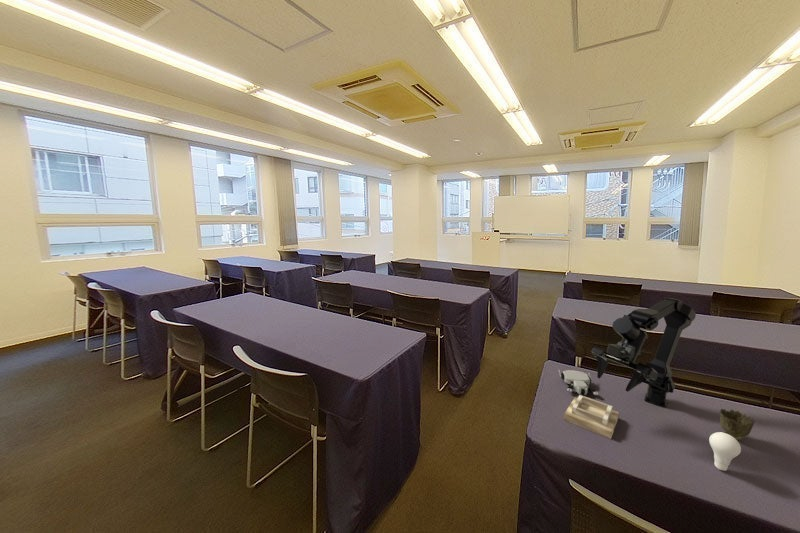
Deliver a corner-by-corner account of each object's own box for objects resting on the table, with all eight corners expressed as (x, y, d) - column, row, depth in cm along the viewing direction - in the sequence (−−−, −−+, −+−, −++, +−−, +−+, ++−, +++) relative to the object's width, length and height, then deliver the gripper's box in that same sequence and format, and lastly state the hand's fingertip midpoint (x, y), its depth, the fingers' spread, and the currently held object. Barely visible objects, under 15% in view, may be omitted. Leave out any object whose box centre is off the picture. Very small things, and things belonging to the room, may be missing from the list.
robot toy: (599, 401, 120) (587, 379, 134) (601, 391, 119) (588, 370, 133) (565, 397, 123) (557, 376, 138) (566, 387, 122) (558, 367, 137)
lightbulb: (699, 461, 89) (704, 428, 88) (717, 460, 90) (723, 426, 88) (722, 479, 83) (729, 443, 82) (742, 477, 84) (749, 441, 82)
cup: (739, 432, 101) (743, 410, 100) (756, 448, 94) (761, 425, 93) (711, 427, 104) (714, 406, 102) (725, 442, 97) (729, 420, 95)
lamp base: (574, 402, 118) (575, 390, 117) (618, 418, 109) (619, 405, 108) (563, 420, 108) (565, 407, 107) (610, 439, 98) (612, 425, 98)
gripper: (593, 326, 110) (574, 364, 109) (653, 345, 94) (632, 390, 92) (607, 338, 115) (589, 374, 114) (666, 358, 99) (646, 401, 97)
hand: (611, 384), depth 104 cm, fingers open, 9 cm apart
